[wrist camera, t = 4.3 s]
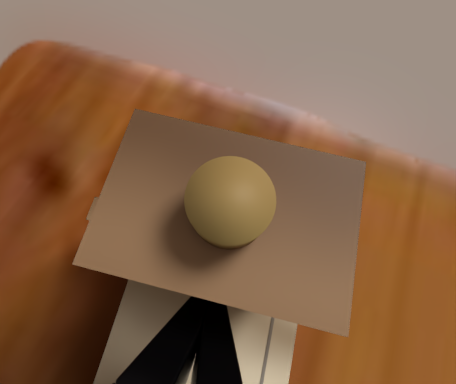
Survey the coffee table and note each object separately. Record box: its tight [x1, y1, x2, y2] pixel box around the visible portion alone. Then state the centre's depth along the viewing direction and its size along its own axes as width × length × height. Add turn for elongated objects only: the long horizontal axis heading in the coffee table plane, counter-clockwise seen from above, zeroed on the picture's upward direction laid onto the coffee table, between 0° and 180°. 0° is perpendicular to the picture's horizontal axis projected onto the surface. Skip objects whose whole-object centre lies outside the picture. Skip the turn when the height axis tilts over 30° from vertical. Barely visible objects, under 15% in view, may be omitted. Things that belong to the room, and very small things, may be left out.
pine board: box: [93, 280, 297, 384], centre depth 16 cm, size 23×10×2 cm, turn 166°
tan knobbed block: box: [72, 109, 366, 337], centre depth 10 cm, size 4×11×11 cm, turn 76°
